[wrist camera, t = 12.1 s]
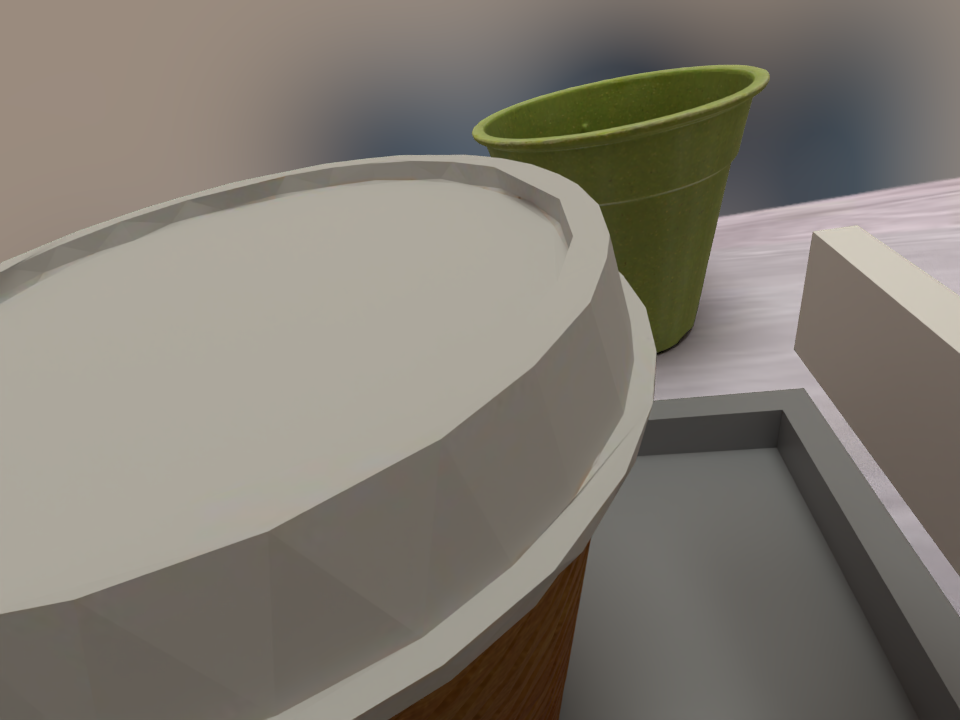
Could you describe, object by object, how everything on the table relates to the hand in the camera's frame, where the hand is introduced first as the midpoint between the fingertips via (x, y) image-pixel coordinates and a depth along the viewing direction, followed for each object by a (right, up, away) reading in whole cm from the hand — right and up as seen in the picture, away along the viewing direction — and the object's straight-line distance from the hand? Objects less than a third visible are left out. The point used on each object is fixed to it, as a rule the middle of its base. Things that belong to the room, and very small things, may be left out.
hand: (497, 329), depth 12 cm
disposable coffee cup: (-1, -9, +1) cm, 9 cm away
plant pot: (+7, +1, +16) cm, 17 cm away
